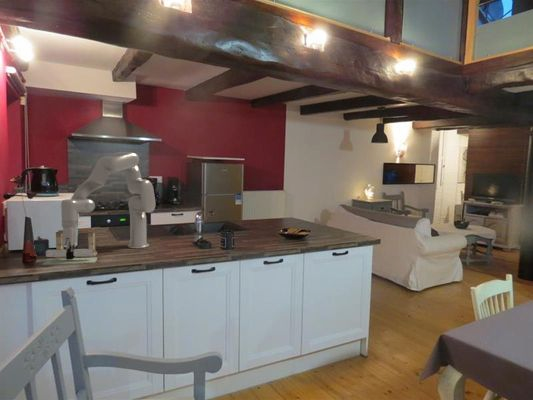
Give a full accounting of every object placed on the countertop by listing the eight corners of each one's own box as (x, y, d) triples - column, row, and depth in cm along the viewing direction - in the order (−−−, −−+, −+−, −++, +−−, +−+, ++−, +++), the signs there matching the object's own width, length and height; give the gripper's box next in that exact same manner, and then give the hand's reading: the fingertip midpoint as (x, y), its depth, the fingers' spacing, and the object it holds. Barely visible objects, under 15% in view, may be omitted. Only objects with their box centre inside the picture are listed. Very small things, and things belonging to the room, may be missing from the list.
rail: (47, 255, 191) (47, 249, 190) (94, 254, 196) (94, 248, 196) (46, 256, 188) (45, 251, 187) (92, 255, 193) (92, 249, 193)
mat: (48, 260, 194) (48, 259, 194) (97, 258, 200) (97, 257, 200) (42, 265, 185) (42, 263, 185) (94, 263, 191) (94, 262, 191)
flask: (29, 257, 198) (28, 237, 197) (29, 255, 201) (29, 236, 200) (49, 255, 202) (48, 236, 201) (49, 254, 205) (49, 235, 204)
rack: (57, 255, 204) (57, 230, 202) (97, 253, 209) (96, 229, 207) (54, 258, 198) (53, 232, 196) (94, 256, 203) (94, 231, 202)
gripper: (66, 220, 197) (67, 254, 199) (57, 226, 181) (58, 262, 183) (81, 220, 199) (82, 254, 201) (74, 226, 183) (74, 262, 185)
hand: (70, 257), depth 192 cm, fingers closed on rail, 3 cm apart
